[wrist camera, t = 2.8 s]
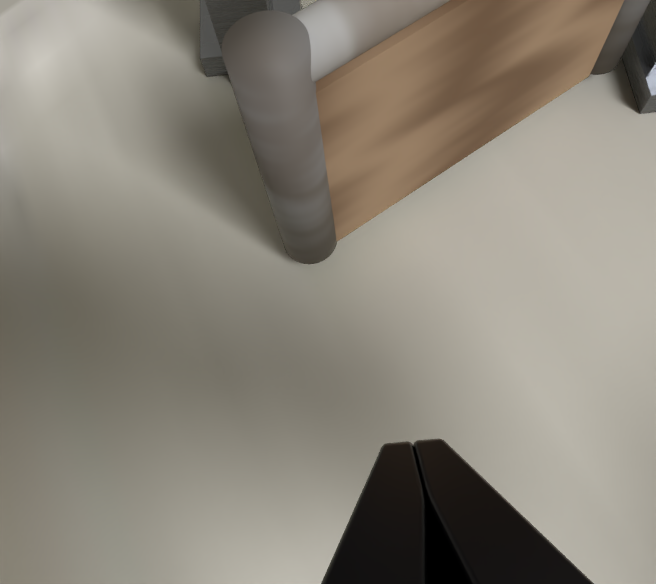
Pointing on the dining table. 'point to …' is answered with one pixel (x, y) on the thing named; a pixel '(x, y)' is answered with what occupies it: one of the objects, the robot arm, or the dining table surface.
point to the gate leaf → (399, 94)
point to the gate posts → (235, 3)
